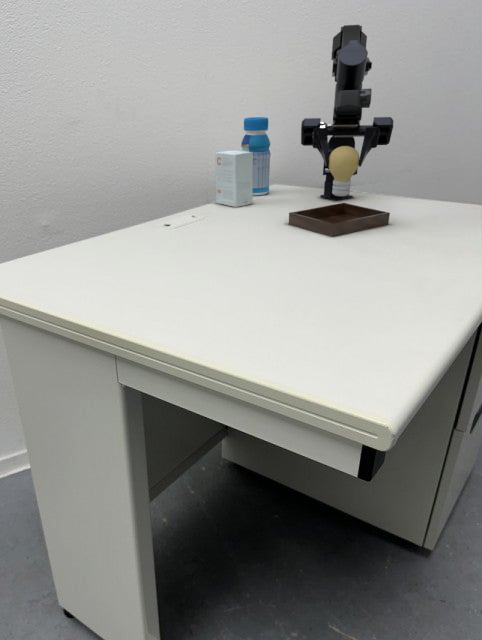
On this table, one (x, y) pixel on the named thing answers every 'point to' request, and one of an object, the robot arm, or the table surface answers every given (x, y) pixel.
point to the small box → (234, 178)
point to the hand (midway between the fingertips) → (343, 165)
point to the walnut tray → (338, 219)
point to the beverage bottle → (258, 152)
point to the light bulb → (343, 168)
